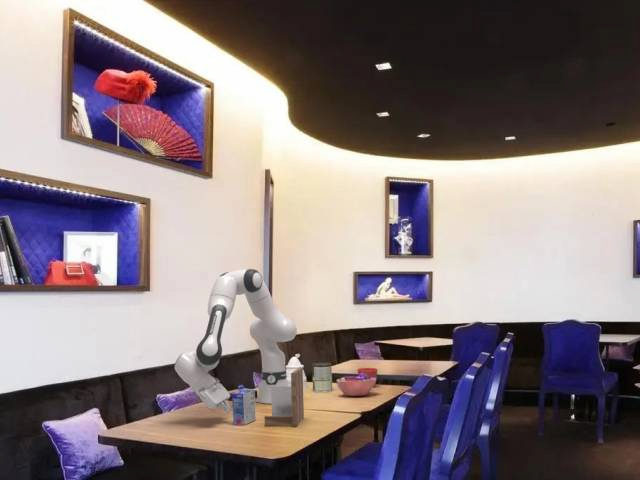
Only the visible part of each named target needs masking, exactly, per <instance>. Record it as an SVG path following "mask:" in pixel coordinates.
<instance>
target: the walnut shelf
mask: <svg viewBox="0 0 640 480" xmlns="http://www.w3.org/2000/svg"><path fill="white" fill-rule="evenodd" d="M303 371H304V367H303V368H298V369H297V370H295V371H294V372H292V373H291V395H292V416H272V415H265V416H264V427H292V428H297V427H298V426H299V425H300V423H301V422H302V421H301V420H303V419H304V418H305V415H304V414H305V409H304V389H303ZM297 425H298V426H297Z"/></svg>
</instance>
